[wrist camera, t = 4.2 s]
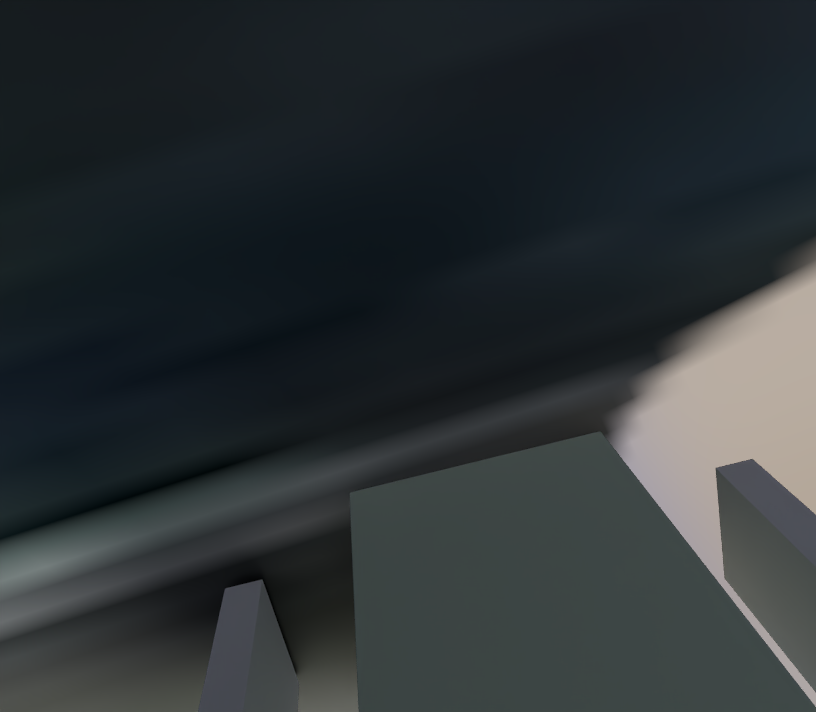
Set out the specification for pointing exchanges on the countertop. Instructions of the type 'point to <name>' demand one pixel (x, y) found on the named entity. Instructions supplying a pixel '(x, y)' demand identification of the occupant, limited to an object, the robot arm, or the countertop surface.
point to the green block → (545, 596)
